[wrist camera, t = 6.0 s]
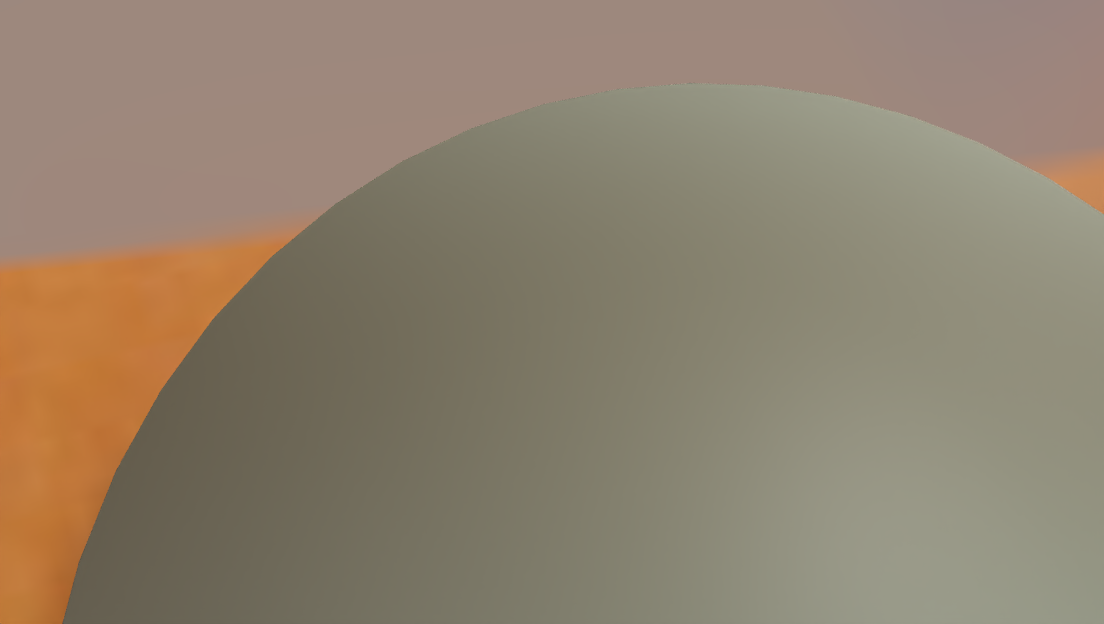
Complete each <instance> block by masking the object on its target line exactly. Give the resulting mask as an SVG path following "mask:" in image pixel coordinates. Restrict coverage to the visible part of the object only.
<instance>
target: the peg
mask: <svg viewBox="0 0 1104 624" xmlns="http://www.w3.org/2000/svg"><path fill="white" fill-rule="evenodd" d="M63 624H1104V214H1102V213H1101V212H1099V211H1098V210H1096V209H1095V208H1093V207H1092V206H1090V205H1089V204H1087V203H1085V202H1084V201H1082V200H1081V199H1079V198H1078V197H1076V196H1075V195H1073V194H1072V193H1070V192H1069V191H1067V190H1066V189H1064V188H1063V187H1061V186H1060V185H1058V184H1057V183H1055V182H1054V181H1052V180H1050V179H1049V178H1047V177H1045V176H1043V175H1041V174H1039V173H1037V172H1035V171H1033V170H1031V169H1030V168H1028V167H1026V166H1024V165H1022V164H1020V163H1018V162H1016V161H1014V160H1012V159H1010V158H1008V157H1006V156H1004V155H1002V154H1000V153H998V152H997V151H994V150H993V149H990V148H989V147H987V146H985V145H983V144H981V143H979V142H976V141H973V140H971V139H968V138H966V137H963V136H961V135H958V134H955V133H953V132H950V131H947V130H945V129H942V128H940V127H937V126H935V125H932V124H930V123H927V122H924V121H922V120H919V119H917V118H914V117H911V116H909V115H905V114H901V113H897V112H894V111H890V110H886V109H882V108H878V107H875V106H871V105H867V104H863V103H860V102H856V101H852V100H848V99H845V98H841V97H837V96H830V95H823V94H817V93H809V92H803V91H797V90H790V89H783V88H776V87H770V86H758V85H730V84H728V85H727V84H700V83H699V84H698V83H687V84H675V85H664V86H651V87H640V88H627V89H616V90H611V91H606V92H601V93H596V94H592V95H587V96H582V97H577V98H572V99H568V100H562V101H558V102H553V103H548V104H543V105H540V106H537V107H534V108H531V109H528V110H525V111H522V112H519V113H516V114H514V115H510V116H507V117H504V118H501V119H498V120H495V121H492V122H489V123H486V124H484V125H480V126H477V127H475V128H471V129H469V130H467V131H465V132H463V133H461V134H459V135H457V136H455V137H453V138H450V139H448V140H446V141H444V142H442V143H440V144H438V145H436V146H434V147H432V148H430V149H427V150H425V151H423V152H421V153H419V154H417V155H415V156H413V157H411V158H408V159H406V160H404V161H402V162H401V163H399V164H397V165H396V166H395V167H393V168H391V169H390V170H388V171H387V172H385V173H383V174H382V175H380V176H379V177H377V178H376V179H374V180H372V181H371V182H369V183H368V184H366V185H365V186H363V187H361V188H360V189H358V190H357V191H355V192H354V193H352V194H350V195H349V196H347V197H346V198H344V199H343V200H341V201H340V202H338V203H336V204H335V205H334V206H332V207H331V208H330V209H329V210H328V211H326V212H325V213H324V214H323V215H322V216H320V217H319V218H318V219H317V220H316V221H314V222H313V223H312V224H311V225H309V226H308V227H307V228H306V229H305V230H303V231H302V232H301V233H300V234H299V235H297V236H296V237H295V238H294V239H293V240H291V241H290V242H289V243H288V244H287V245H285V246H284V247H283V248H282V249H280V250H279V251H278V252H277V253H276V254H274V255H273V256H272V257H271V258H270V259H269V260H268V261H267V262H266V263H265V265H264V266H263V267H262V268H261V269H260V270H259V271H258V272H257V273H256V274H255V275H254V276H253V277H252V278H251V279H250V280H249V281H248V283H247V284H246V285H245V286H244V287H243V288H242V289H241V290H240V291H239V292H238V293H237V294H236V295H235V296H234V297H233V298H232V300H231V301H230V302H229V303H228V304H227V305H226V306H225V307H224V308H223V309H222V310H221V311H220V312H219V313H218V314H217V315H216V316H215V318H214V319H213V320H212V321H211V323H210V324H209V326H208V327H207V328H206V330H205V331H204V332H203V334H202V335H201V336H200V338H199V339H198V341H197V342H196V343H195V345H194V346H193V347H192V349H191V350H190V351H189V353H188V354H187V356H186V357H185V358H184V360H183V361H182V362H181V364H180V365H179V366H178V368H177V369H176V371H175V372H174V373H173V375H172V376H171V377H170V379H169V380H168V381H167V383H166V384H165V386H164V387H163V388H162V390H161V391H160V393H159V395H158V397H157V399H156V400H155V402H154V404H153V406H152V407H151V409H150V411H149V413H148V415H147V416H146V418H145V420H144V422H143V424H142V425H141V427H140V429H139V431H138V433H137V434H136V436H135V438H134V440H133V442H132V443H131V445H130V447H129V449H128V450H127V452H126V454H125V456H124V458H123V459H122V461H121V463H120V465H119V467H118V468H117V470H116V472H115V475H114V477H113V480H112V482H111V485H110V487H109V490H108V492H107V494H106V497H105V499H104V502H103V504H102V507H101V509H100V512H99V514H98V517H97V519H96V522H95V524H94V526H93V529H92V531H91V534H90V536H89V539H88V541H87V544H86V546H85V549H84V551H83V553H82V556H81V558H80V561H79V564H78V568H77V572H76V576H75V579H74V583H73V587H72V590H71V594H70V598H69V602H68V605H67V609H66V613H65V616H64V620H63Z"/></svg>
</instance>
